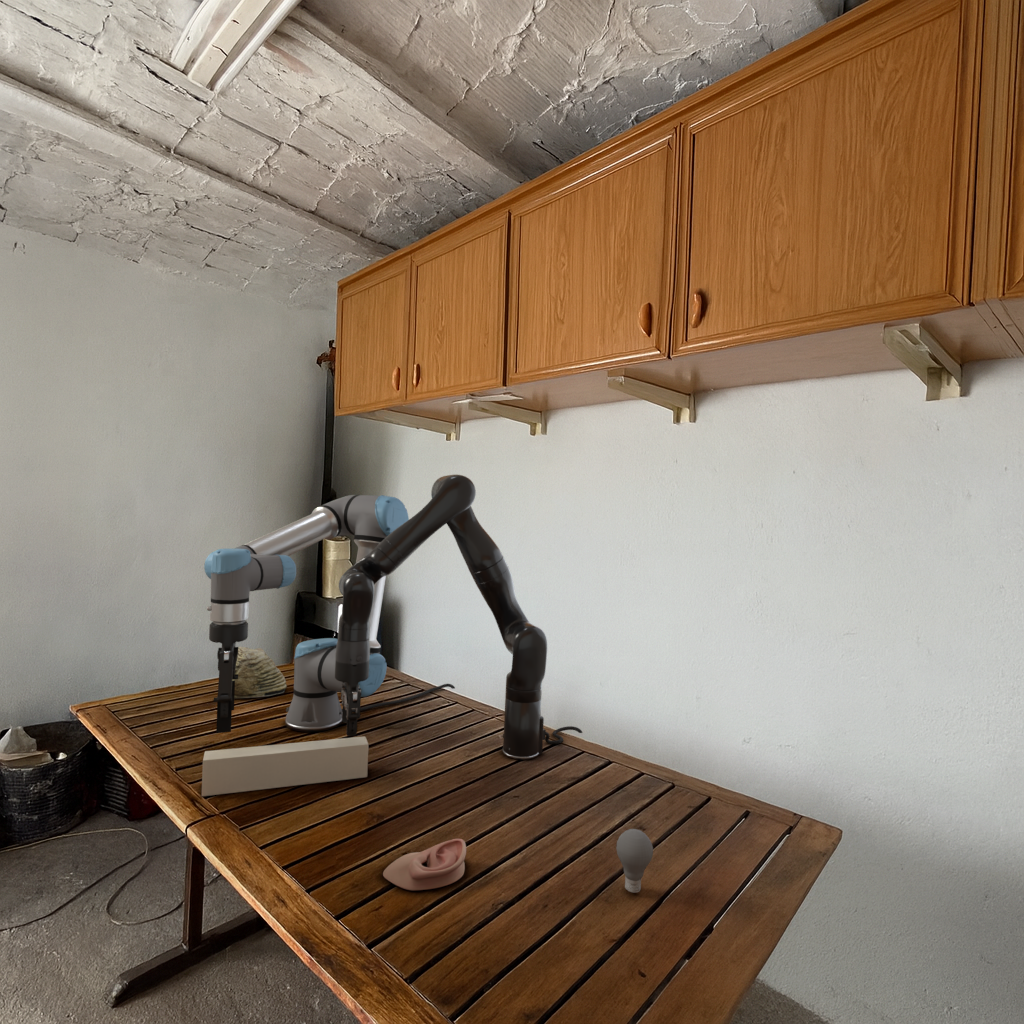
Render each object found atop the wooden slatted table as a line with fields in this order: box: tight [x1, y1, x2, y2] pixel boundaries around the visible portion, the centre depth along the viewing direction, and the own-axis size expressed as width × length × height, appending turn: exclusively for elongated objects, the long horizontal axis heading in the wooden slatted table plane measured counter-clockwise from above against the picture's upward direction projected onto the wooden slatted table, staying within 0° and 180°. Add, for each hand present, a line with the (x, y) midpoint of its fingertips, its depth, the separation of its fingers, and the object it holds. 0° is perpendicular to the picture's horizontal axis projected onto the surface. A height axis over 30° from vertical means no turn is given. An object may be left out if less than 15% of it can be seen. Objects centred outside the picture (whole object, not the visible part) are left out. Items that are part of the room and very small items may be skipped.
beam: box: [201, 735, 369, 797], centre depth 140 cm, size 34×5×8 cm, turn 111°
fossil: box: [232, 646, 288, 699], centre depth 198 cm, size 9×18×15 cm, turn 132°
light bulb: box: [615, 828, 654, 894], centre depth 106 cm, size 6×6×10 cm
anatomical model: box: [382, 838, 467, 891], centre depth 108 cm, size 13×4×12 cm
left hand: (225, 720), depth 135 cm, fingers open, 13 cm apart
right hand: (349, 728), depth 145 cm, fingers open, 8 cm apart
